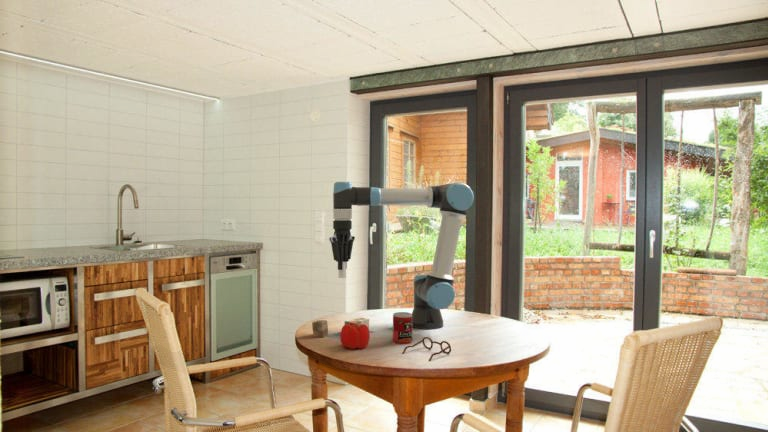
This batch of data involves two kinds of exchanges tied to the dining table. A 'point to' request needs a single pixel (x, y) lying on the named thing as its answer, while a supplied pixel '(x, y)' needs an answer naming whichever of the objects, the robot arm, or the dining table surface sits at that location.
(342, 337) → the tomato
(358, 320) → the birch block
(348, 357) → the dining table surface
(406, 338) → the canned food
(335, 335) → the rubber mat
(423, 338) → the glasses
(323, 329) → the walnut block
